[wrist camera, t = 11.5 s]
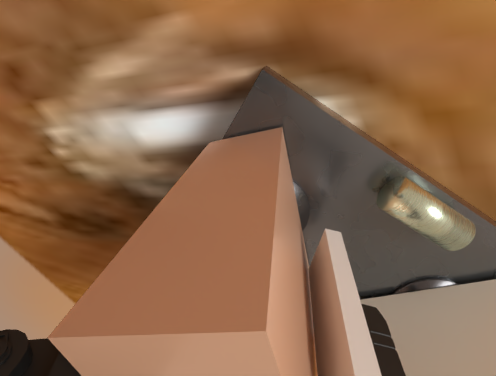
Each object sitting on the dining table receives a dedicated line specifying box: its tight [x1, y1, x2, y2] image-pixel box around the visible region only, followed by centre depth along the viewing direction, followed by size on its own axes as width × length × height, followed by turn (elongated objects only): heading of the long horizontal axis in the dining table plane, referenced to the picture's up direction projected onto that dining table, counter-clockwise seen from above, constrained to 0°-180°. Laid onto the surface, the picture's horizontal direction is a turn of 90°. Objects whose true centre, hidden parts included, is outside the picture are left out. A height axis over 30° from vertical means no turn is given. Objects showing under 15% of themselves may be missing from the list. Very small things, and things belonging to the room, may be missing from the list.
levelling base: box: [222, 66, 496, 300], centre depth 16 cm, size 20×12×4 cm, turn 59°
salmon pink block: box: [48, 127, 318, 376], centre depth 10 cm, size 9×4×11 cm, turn 14°
